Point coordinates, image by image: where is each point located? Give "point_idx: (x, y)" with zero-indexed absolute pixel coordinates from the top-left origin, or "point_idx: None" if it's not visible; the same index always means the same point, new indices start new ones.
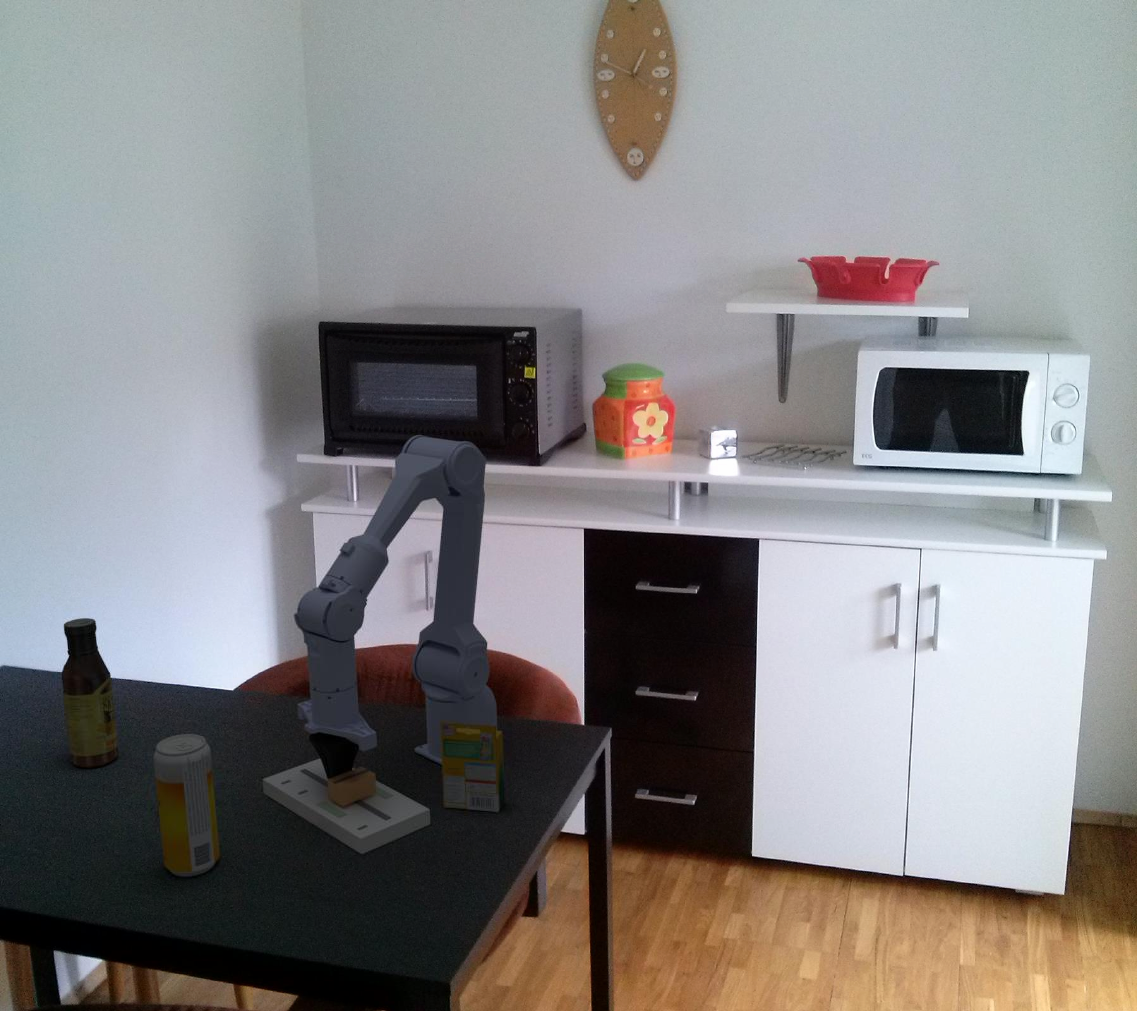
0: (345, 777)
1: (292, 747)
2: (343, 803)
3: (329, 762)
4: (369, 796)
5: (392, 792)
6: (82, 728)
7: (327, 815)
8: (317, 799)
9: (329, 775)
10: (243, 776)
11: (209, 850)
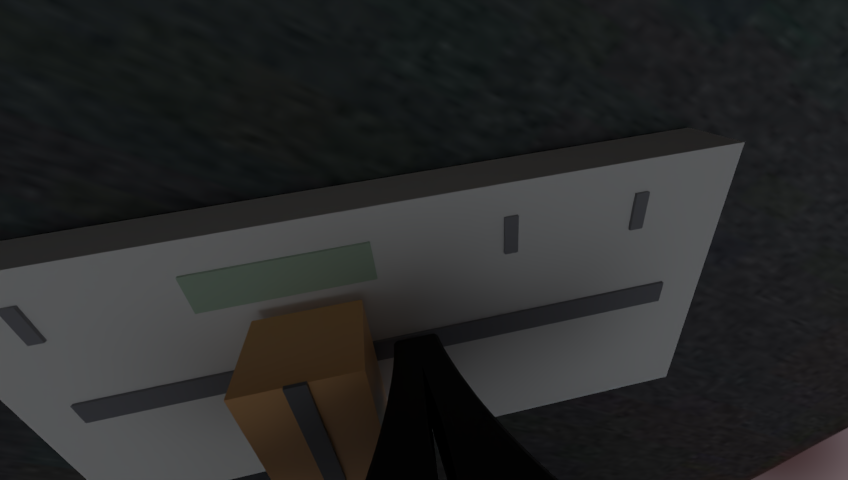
0: (325, 435)
1: (812, 304)
2: (249, 333)
3: (399, 470)
4: None
5: None
6: None
7: (233, 245)
8: (412, 260)
9: (427, 380)
10: (844, 120)
11: None
